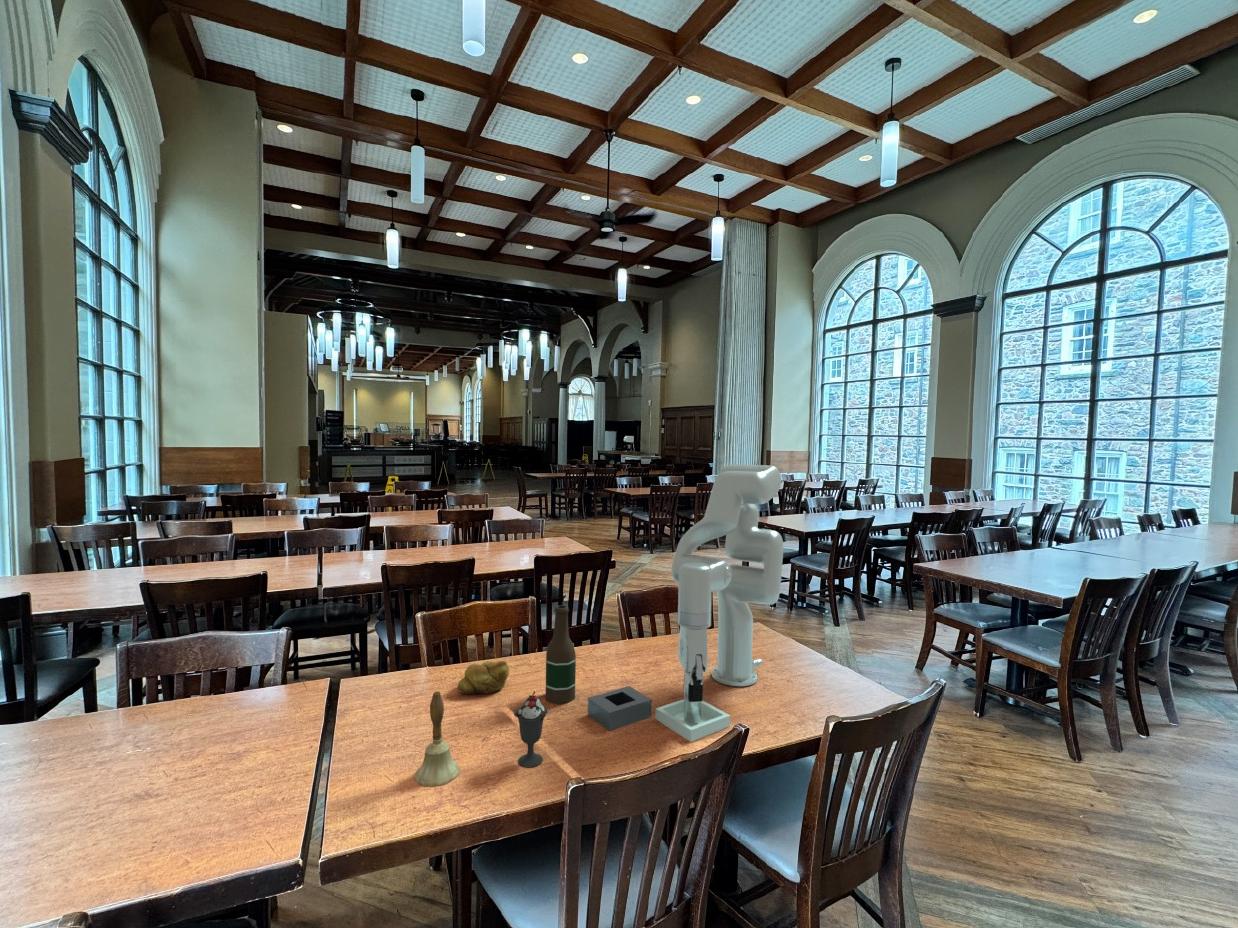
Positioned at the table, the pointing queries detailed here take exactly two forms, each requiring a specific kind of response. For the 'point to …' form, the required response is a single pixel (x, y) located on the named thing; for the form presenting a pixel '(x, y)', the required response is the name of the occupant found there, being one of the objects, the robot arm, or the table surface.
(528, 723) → the sundae
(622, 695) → the block
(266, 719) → the table surface
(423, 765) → the hand bell
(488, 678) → the bread roll
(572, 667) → the beer bottle
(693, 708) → the pin
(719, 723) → the tray
